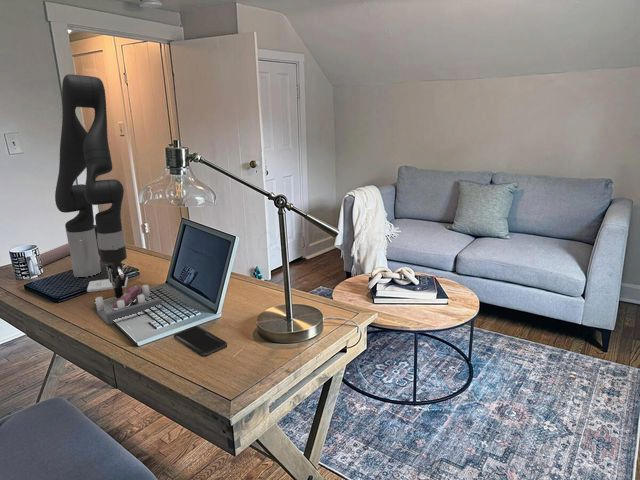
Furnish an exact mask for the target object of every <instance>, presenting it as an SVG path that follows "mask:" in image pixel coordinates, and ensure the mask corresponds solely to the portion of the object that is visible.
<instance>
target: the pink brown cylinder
mask: <svg viewBox="0 0 640 480" xmlns="http://www.w3.org/2000/svg"><path fill="white" fill-rule="evenodd" d="M39 255H40V260H41V263H42V264H41V265H42V267H44V266H46V265H49V264H51V263H54V262H55V261H58V260H60V259H62V258H64V257H67V256H70V250H69V245H68V243H65V244H63V245H60V246H57V247H55V248H52V249H49V250H48V251H45V252H42V253H39Z"/></svg>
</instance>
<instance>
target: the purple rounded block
mask: <svg viewBox="0 0 640 480" xmlns="http://www.w3.org/2000/svg"><path fill="white" fill-rule="evenodd" d="M140 294H143V291H142V286H141V287H140V286H137V285H135V286H131V287H128V288H127V289H126V291H125V292H123V295H122V296H121V298H118V300H124V303H125V306H128V305H129V304H130V303H131V304H133V303H132V301H134V300H135V299H137V300H138V297H137V296H138V295H140ZM113 308H118V306H117V301H116V302H114V303H113V304H112V309H113Z"/></svg>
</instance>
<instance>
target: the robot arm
mask: <svg viewBox="0 0 640 480" xmlns="http://www.w3.org/2000/svg"><path fill="white" fill-rule="evenodd" d="M61 86H62V87H61V102H62V103H61V106H62V109H61V110H62V121H61V131H60V132H61V134H60V140H59V141H60V143H59V164H58V165H59V167H58V175H57V180H56V186H55V192H54V200H55V206H56V208H57V210H58V211H59V212H61V213H67V214H68V213H74V212H75V213H76V212H78V213H77V215H76V216H74V217H73V218H72V219H69V220H67V221H66V222H65V225H64V226H65V232H66V238H67V244H68V245H69V250H70V255H69V256H70V261H71V267H72V273H73V276H74V277H75V278H78V277H86V278H89V277H88V276H91V277H94V276H93V275H95V276H97V275H96V274H98V273H99V274H101V273H102V268H101V263H104V264H107V265H105V266H104V269H105V271H106V273H107V277H108V279H109V280H110V283H112V286H114V287H113V289H112V290H113V295H114V298H115V299H117V300H119V299H120V298H121V296H122V295H123V294H124V292H123V290H124V289H123V288H122V286H125V282H126V277H128V276H127V275H128V274H126V273H124V270H125V268H124V265H123V263H122V262H123V261H125V260H126V259H127V257H128V256H127V248H126V241H125V240H126V239H125V235H124V232H123V226H122V224H123V223H122V216H121V215H122V206H123V205H122V204H123V199H124V191H125V188H124V186H123V184H122V182H121V181H120V180H119V179H112V178H110V179H103V180H102V179H100V180H97V178H98V177H99V176H102V175H105V174H109V173H111V172H112V171H113V162H112V156H111V151H110V147H109V140H108V139H109V137H108V116H107V115H108V114H107V112H108V111H107V99H106V98H107V97H106V90H105V84H104V82H103V81H102V79H101V78H99V77H98V76H97V77H96V76H90V75H83V74H82V75H80V74H71V73H70V74H66V75H65V76H64V77H63V79H62V85H61ZM77 108H84V109H85V108H86V109H87V108H89V109H93V110H94V116H93V117H94V118H93V121H92V123H91V126H90V127H89V128H88V131H87V130H86V128H85V127H84V125H82V123H81V121H80V120H79V118H78V116H77V113H76V109H77ZM85 169H86V178H85V183H84V184H81V183H80V184H74V183H75V181H76V180H77V179H78V177H79V176H81V174H82V173H83V172H84V171H85ZM109 204H111V206H110V207H109V208H108V209H105V210H102V211H99V212H97V213H96V214H95V216H94V209H93V206H97V205H109ZM94 225H96V228H97V241H98V247H97V241H96V235H95V228H94ZM98 248H99V254H98ZM100 272H101V273H100ZM99 274H98V275H99Z"/></svg>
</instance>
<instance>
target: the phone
mask: <svg viewBox="0 0 640 480" xmlns="http://www.w3.org/2000/svg"><path fill="white" fill-rule="evenodd" d="M173 339H174V340H175V341H177V342H178V343H180V344H181V345H183V346H184V347H186V348H187V349H189V350H191V351H192V352H193V353H194V354H196V355H198V356H200V357H204V358H205V357H208V356H210V355H212V354H215V353H216V352H219V351H222V350H224V349H225V348H227V347H228V342H227V341H226V340H224V339H222V338H220V337H218V336H217V335H215V334H213V333H212V332H210V331H207V330H206V329H204V328H203V327H201V326H199V325H195V326H192V327H189V328H186V329H184V330H181V331H178V332H176V333H174V334H173Z"/></svg>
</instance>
